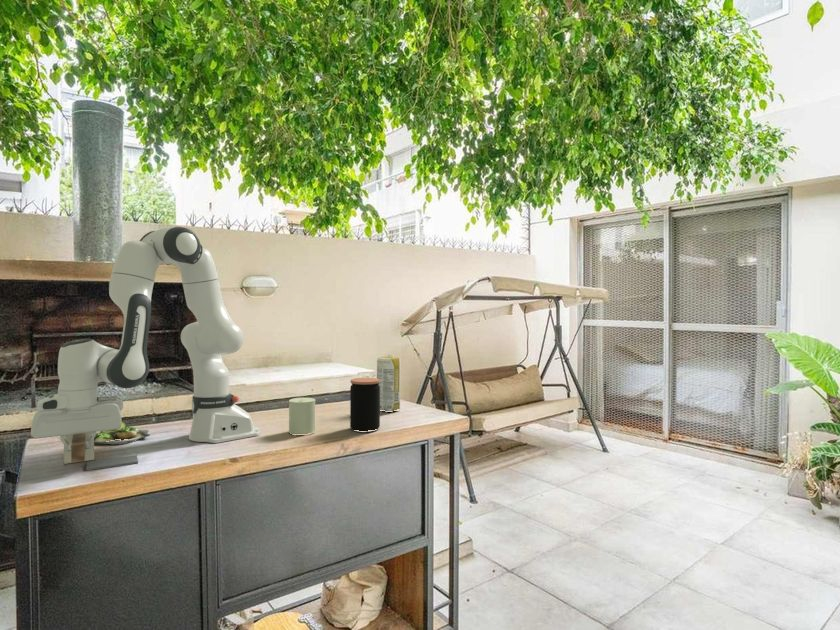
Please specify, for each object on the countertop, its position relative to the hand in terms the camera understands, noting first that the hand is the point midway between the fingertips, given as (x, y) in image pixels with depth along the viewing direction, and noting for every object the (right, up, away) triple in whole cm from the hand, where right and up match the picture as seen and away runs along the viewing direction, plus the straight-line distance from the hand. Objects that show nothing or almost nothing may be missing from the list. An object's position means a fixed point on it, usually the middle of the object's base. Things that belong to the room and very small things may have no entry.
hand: (78, 449), depth 134 cm
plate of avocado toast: (-8, -5, +30) cm, 32 cm away
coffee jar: (+73, -5, +44) cm, 86 cm away
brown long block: (0, -2, 0) cm, 2 cm away
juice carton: (+79, -4, +75) cm, 110 cm away
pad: (+7, -5, +4) cm, 9 cm away
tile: (-4, -5, +6) cm, 8 cm away
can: (+52, -5, +39) cm, 65 cm away
